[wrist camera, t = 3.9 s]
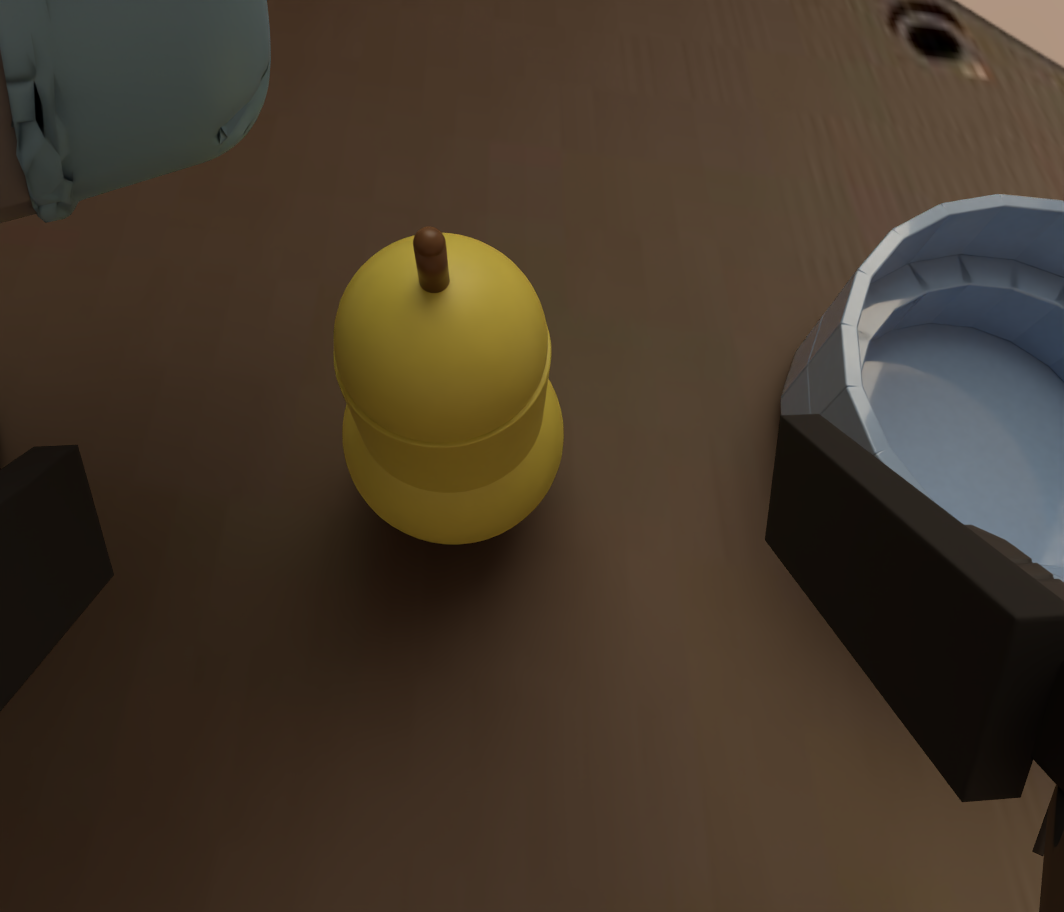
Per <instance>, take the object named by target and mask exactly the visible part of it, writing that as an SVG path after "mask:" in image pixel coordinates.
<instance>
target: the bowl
mask: <svg viewBox="0 0 1064 912" xmlns="http://www.w3.org/2000/svg"><path fill="white" fill-rule="evenodd" d="M802 414H820V415H821V416H822V417H824V418H825V419H826V420H828V421H829V422H830V423H832V424H833V425H834V426H836V427H837V428H838V429H840V430H841V431H842V432H843V433H845V434H846V435H847V436H849V437H850V438H851V439H853V440H854V441H855V442H857V443H858V444H859V445H860V446H862V447H863V448H864V449H866V450H867V451H868V452H870V453H871V454H872V455H874V456H875V457H876V458H877V459H879V460H880V461H881V462H883V463H884V464H885V465H887V466H888V467H889V468H891V469H892V470H893V471H894V472H896V473H897V474H898V475H900V476H901V477H902V478H904V479H905V480H906V481H908V482H909V483H910V484H912V485H913V486H914V487H915V488H917V489H918V490H919V491H921V492H922V493H923V494H925V495H926V496H927V497H929V498H930V499H931V500H932V501H934V502H935V503H936V504H938V505H939V506H940V507H942V508H943V509H944V510H946V511H947V512H948V513H949V514H951V515H952V516H953V517H955V518H956V519H957V520H959V521H960V522H961V523H963V524H964V525H974V526H976V527H978V528H980V529H983V530H985V531H987V532H989V533H991V534H994V535H996V536H998V537H1000V538H1003V539H1005V540H1007V541H1008V542H1009V543H1011V544H1012V545H1014V546H1015V547H1016V548H1018V549H1019V550H1020V551H1022V552H1023V553H1024V554H1026V555H1027V556H1029V557H1030V558H1031V559H1032V563H1038V564H1039V565H1041V566H1042V567H1044V568H1045V569H1046V570H1048V571H1049V572H1050V573H1052V574H1053V577H1054V579H1060V580H1061V581H1063V582H1064V201H1062V200H1054V199H1044V198H1034V197H1024V196H1014V195H1005V194H1000V195H999V194H995V195H989V196H983V197H977V198H971V199H965V200H959V201H952V202H946V203H942V204H939V205H937V206H935V207H933V208H931V209H929V210H928V211H926V212H924V213H922V214H920V215H918V216H916V217H914V218H912V219H910V220H909V221H907V222H905V223H903V224H901V225H899V226H897V227H895V228H893V229H892V230H891V231H889V233H888V234H887V235H886V236H885V237H884V238H883V240H882V241H881V242H880V243H879V244H878V246H877V247H876V248H875V249H874V250H873V251H872V253H871V254H870V255H869V256H868V257H867V258H866V260H865V261H864V262H863V263H862V264H861V265H860V267H859V268H858V269H857V270H856V272H855V273H854V274H853V276H852V277H851V278H850V280H849V281H848V282H847V284H846V285H845V286H844V288H843V289H842V290H841V292H840V293H839V294H838V296H837V297H836V298H835V300H834V301H833V302H832V304H831V305H830V306H829V308H828V309H827V311H826V312H825V313H824V315H823V316H822V317H821V319H820V320H819V321H818V323H817V324H816V325H815V327H814V328H813V329H812V331H811V332H810V333H809V335H808V336H807V337H806V339H805V340H804V341H803V343H802V344H801V345H800V347H799V348H798V349H797V351H796V353H795V355H794V358H793V361H792V365H791V368H790V371H789V374H788V377H787V380H786V383H785V386H784V389H783V392H782V395H781V415H802Z"/></svg>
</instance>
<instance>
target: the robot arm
mask: <svg viewBox="0 0 1064 912" xmlns="http://www.w3.org/2000/svg"><path fill="white" fill-rule="evenodd" d="M270 63H271V52H270V28H269V18H268V8H267V0H0V223H2V222H6V221H10V220H14V219H18V218H21V217H25V216H29V215H33V214H37V215H38V217H40V218H41V219H42V220H43V221H44V222H51V221H56V220H60V219H65V218H66V217H68V216H69V215H71V214H72V212H73V210H74V209H75V207H76V205H77V203H78V202H79V201H80V200H83V199H86V198H90V197H93V196H96V195H99V194H103V193H106V192H109V191H112V190H116V189H119V188H122V187H125V186H129V185H132V184H135V183H138V182H142V181H145V180H148V179H151V178H155V177H158V176H161V175H165V174H168V173H171V172H174V171H178V170H181V169H184V168H187V167H191V166H194V165H197V164H200V163H204V162H206V161H209V160H211V159H214V158H216V157H218V156H220V155H221V154H223V153H225V152H227V151H228V150H230V149H231V148H232V147H234V146H235V145H236V144H237V143H238V142H239V141H241V140H242V139H243V138H244V137H245V135H246V134H247V133H248V132H249V130H250V129H251V127H252V126H253V124H254V123H255V121H256V120H257V117H258V115H259V113H260V111H261V108H262V106H263V104H264V101H265V97H266V93H267V89H268V85H269V76H270ZM765 541H766V542H767V543H768V545H769V546H770V547H771V549H772V550H773V551H774V553H775V554H776V555H777V557H778V558H779V559H780V561H781V562H782V563H783V565H784V566H785V567H786V569H787V570H788V571H789V573H790V574H791V575H792V577H793V578H794V579H795V580H796V582H797V583H798V584H799V586H800V587H801V588H802V590H803V591H804V592H805V594H806V595H807V596H808V598H809V599H810V600H811V602H812V603H813V604H814V606H815V607H816V608H817V610H818V611H819V612H820V614H821V615H822V616H823V618H824V619H825V620H826V622H827V623H828V624H829V626H830V627H831V628H832V630H833V631H834V632H835V634H836V635H837V636H838V638H839V639H840V640H841V642H842V643H843V644H844V646H845V647H846V648H847V650H848V651H849V652H850V654H851V655H852V656H853V658H854V659H855V660H856V662H857V663H858V664H859V666H860V667H861V668H862V670H863V671H864V672H865V674H866V675H867V676H868V678H869V679H870V680H871V682H872V683H873V684H874V686H875V687H876V688H877V690H878V691H879V692H880V694H881V695H882V696H883V698H884V699H885V700H886V702H887V703H888V704H889V706H890V707H891V708H892V710H893V711H894V712H895V714H896V715H897V716H898V718H899V719H900V720H901V721H902V723H903V724H904V725H905V727H906V728H907V729H908V731H909V732H910V733H911V735H912V736H913V737H914V739H915V740H916V741H917V743H918V744H919V745H920V747H921V748H922V749H923V751H924V752H925V753H926V755H927V756H928V757H929V759H930V760H931V761H932V763H933V764H934V765H935V767H936V768H937V769H938V771H939V772H940V773H941V775H942V776H943V777H944V779H945V780H946V781H947V783H948V784H949V785H950V787H951V788H952V789H953V791H954V792H955V793H956V795H957V796H958V797H959V799H960V800H961V801H962V802H970V801H982V800H995V799H1007V798H1020V797H1021V794H1022V791H1023V788H1024V785H1025V782H1026V779H1027V776H1028V773H1029V770H1030V767H1031V764H1032V761H1033V759H1034V760H1035V762H1036V763H1037V764H1038V765H1039V766H1040V767H1041V768H1042V769H1043V770H1044V771H1045V772H1046V774H1047V775H1048V776H1049V777H1050V778H1051V779H1052V780H1053V781H1054V782H1055V783H1056V787H1055V789H1054V792H1053V795H1052V798H1051V801H1050V803H1049V806H1048V809H1047V812H1046V815H1045V817H1044V820H1043V823H1042V826H1041V829H1040V831H1039V834H1038V837H1037V840H1036V843H1035V845H1034V848H1033V851H1032V852H1034V853H1037V854H1039V855H1041V856H1043V855H1044V862H1043V874H1042V885H1041V897H1040V909H1039V912H1064V582H1063V581H1061V580H1060V579H1054V577H1053V574H1052V573H1050V572H1049V571H1048V570H1046V569H1045V568H1044V567H1042V566H1041V565H1039V564H1038V563H1032V559H1031V558H1030V557H1029V556H1027V555H1026V554H1024V553H1023V552H1022V551H1020V550H1019V549H1018V548H1016V547H1015V546H1014V545H1012V544H1011V543H1009V542H1008V541H1007V540H1005V539H1003V538H1000V537H998V536H996V535H994V534H991V533H989V532H987V531H985V530H983V529H980V528H978V527H976V526H974V525H964V524H963V523H961V522H960V521H959V520H957V519H956V518H955V517H953V516H952V515H951V514H949V513H948V512H947V511H946V510H944V509H943V508H942V507H940V506H939V505H938V504H936V503H935V502H934V501H932V500H931V499H930V498H929V497H927V496H926V495H925V494H923V493H922V492H921V491H919V490H918V489H917V488H915V487H914V486H913V485H912V484H910V483H909V482H908V481H906V480H905V479H904V478H902V477H901V476H900V475H898V474H897V473H896V472H894V471H893V470H892V469H891V468H889V467H888V466H887V465H885V464H884V463H883V462H881V461H880V460H879V459H877V458H876V457H875V456H874V455H872V454H871V453H870V452H868V451H867V450H866V449H864V448H863V447H862V446H860V445H859V444H858V443H857V442H855V441H854V440H853V439H851V438H850V437H849V436H847V435H846V434H845V433H843V432H842V431H841V430H840V429H838V428H837V427H836V426H834V425H833V424H832V423H830V422H829V421H828V420H826V419H825V418H824V417H822V416H821V415H820V414H802V415H781V416H780V424H779V432H778V440H777V448H776V456H775V464H774V472H773V480H772V488H771V496H770V504H769V512H768V520H767V528H766V536H765ZM113 575H114V573H113V570H112V566H111V563H110V559H109V556H108V552H107V548H106V545H105V541H104V538H103V534H102V530H101V527H100V523H99V520H98V516H97V513H96V509H95V505H94V502H93V498H92V495H91V491H90V487H89V484H88V480H87V477H86V473H85V470H84V466H83V462H82V459H81V455H80V452H79V448H78V445H66V446H42V447H33V448H31V449H30V450H28V451H27V452H26V453H24V454H23V455H21V456H20V457H18V458H17V459H15V460H14V461H12V462H11V463H10V464H8V465H7V466H5V467H4V468H2V469H1V470H0V711H1V710H2V709H3V708H4V706H5V705H6V704H7V703H8V702H9V700H10V699H11V698H12V697H13V696H14V694H15V693H16V692H17V691H18V690H19V688H20V687H21V686H22V685H23V684H24V682H25V681H26V680H27V679H28V678H29V676H30V675H31V674H32V673H33V672H34V670H35V669H36V668H37V667H38V666H39V664H40V663H41V662H42V661H43V660H44V658H45V657H46V656H47V655H48V654H49V652H50V651H51V650H52V649H53V647H54V646H55V645H56V644H57V643H58V641H59V640H60V639H61V638H62V637H63V635H64V634H65V633H66V632H67V631H68V629H69V628H70V627H71V626H72V625H73V623H74V622H75V621H76V620H77V619H78V617H79V616H80V615H81V614H82V613H83V611H84V610H85V609H86V608H87V607H88V605H89V604H90V603H91V602H92V601H93V599H94V598H95V597H96V596H97V595H98V593H99V592H100V591H101V590H102V589H103V587H104V586H105V585H106V584H107V583H108V581H109V580H110V579H111V578H112V577H113Z"/></svg>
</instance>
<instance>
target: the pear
mask: <svg viewBox="0 0 1064 912" xmlns="http://www.w3.org/2000/svg"><path fill="white" fill-rule="evenodd" d="M550 363H551V341H550V335H549V331H548V328H547V324H546V320H545V316H544V312H543V309H542V306H541V303H540V300H539V298H538V296H537V294H536V292H535V290H534V289H533V287H532V285H531V283H530V282H529V280H528V279H527V278H526V276H525V275H524V274H523V273H522V271H521V270H520V269H519V268H518V267H517V266H516V265H515V264H514V263H513V262H512V261H511V260H510V259H509V258H507V257H506V256H505V255H504V254H502V253H501V252H499V251H498V250H496V249H495V248H493V247H491V246H489V245H487V244H485V243H483V242H481V241H479V240H476V239H473V238H470V237H467V236H463V235H458V234H451V233H442V232H440V231H439V230H438V229H436V228H434V227H424V228H422V229H420V230H419V231H418V232H417V233H416V234H415V236H411V237H408V238H404V239H401V240H399V241H397V242H394V243H392V244H390V245H389V246H387V247H385V248H383V249H382V250H380V251H379V252H378V253H376V254H375V255H374V256H372V257H371V258H370V259H369V260H368V261H367V262H366V263H364V264H363V265H362V266H361V267H360V269H359V270H358V271H357V272H356V274H355V275H354V276H353V278H352V279H351V281H350V283H349V284H348V286H347V288H346V289H345V291H344V293H343V296H342V298H341V300H340V303H339V307H338V311H337V314H336V318H335V325H334V368H335V373H336V378H337V381H338V383H339V386H340V389H341V391H342V394H343V396H344V398H345V401H346V403H347V404H346V408H345V412H344V418H343V429H342V436H343V450H344V455H345V460H346V463H347V467H348V469H349V472H350V475H351V478H352V480H353V482H354V484H355V486H356V488H357V490H358V492H359V493H360V494H361V496H362V497H363V498H364V500H365V501H366V503H367V504H368V505H369V506H370V507H371V508H372V509H373V510H374V512H375V513H376V514H377V515H378V516H379V517H381V518H382V519H383V520H384V521H386V522H387V523H388V524H390V525H391V526H393V527H395V528H396V529H398V530H400V531H401V532H403V533H405V534H408V535H410V536H413V537H415V538H417V539H421V540H424V541H428V542H432V543H439V544H467V543H475V542H479V541H483V540H487V539H489V538H492V537H495V536H497V535H500V534H502V533H503V532H505V531H507V530H509V529H511V528H512V527H514V526H515V525H517V524H518V523H519V522H521V521H522V520H523V519H525V518H526V517H527V516H528V515H529V514H530V513H531V512H532V511H533V510H534V509H535V508H536V507H537V506H538V504H539V503H540V502H541V501H542V499H543V498H544V497H545V495H546V494H547V492H548V490H549V489H550V487H551V485H552V483H553V480H554V478H555V476H556V473H557V471H558V468H559V464H560V461H561V457H562V450H563V440H564V431H563V419H562V413H561V409H560V405H559V402H558V399H557V396H556V393H555V391H554V389H553V387H552V384H551V382H550V381H549V379H548V377H549V370H550Z"/></svg>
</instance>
